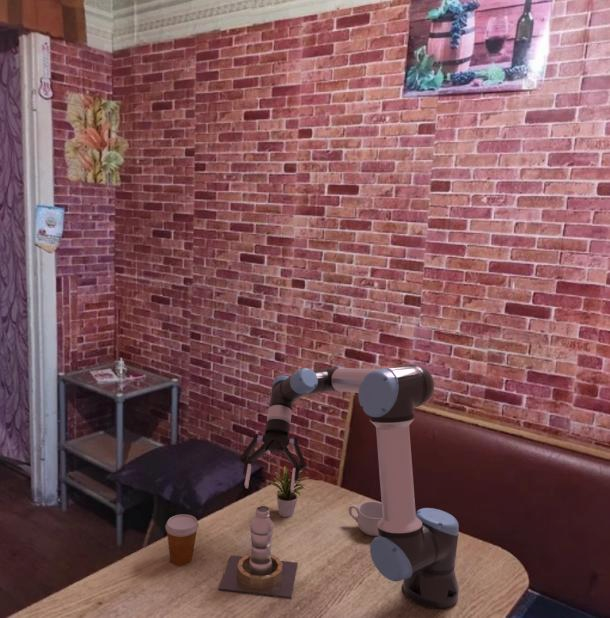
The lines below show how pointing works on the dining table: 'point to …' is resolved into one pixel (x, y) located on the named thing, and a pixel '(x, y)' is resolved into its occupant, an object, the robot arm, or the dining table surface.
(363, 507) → the teacup
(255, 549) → the plastic bottle
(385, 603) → the dining table surface
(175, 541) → the disposable coffee cup
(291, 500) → the house plant
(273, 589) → the collar stand
